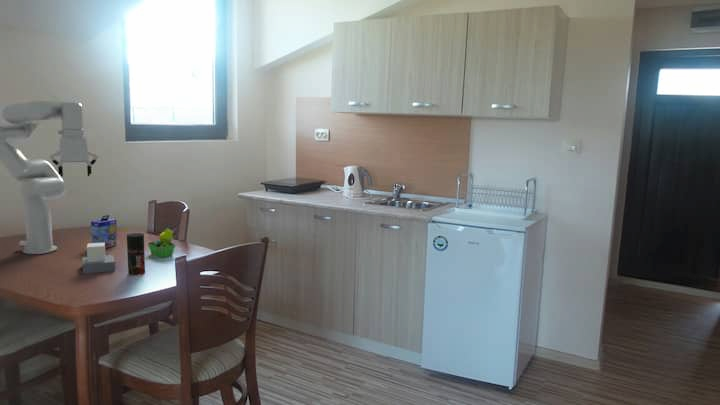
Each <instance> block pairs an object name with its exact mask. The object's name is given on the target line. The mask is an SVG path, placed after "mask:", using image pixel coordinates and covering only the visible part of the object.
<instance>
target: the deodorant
mask: <svg viewBox="0 0 720 405" xmlns="http://www.w3.org/2000/svg"><path fill="white" fill-rule="evenodd" d="M126 247H127V248H126V249H127V250H126V251H127V272H128V273H127V274H128V275H129V276H141V275H144V274H145V273H146V261H145V260H146V258H145V234H144V233H140V232H134V233H128V234H126Z"/></svg>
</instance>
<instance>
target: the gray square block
mask: <svg viewBox="0 0 720 405" xmlns="http://www.w3.org/2000/svg"><path fill="white" fill-rule="evenodd" d="M81 258H82V273H83V274H84V275H85V274H95V273H104V272H115V271H116V261H115V258H114V255H113V254H108V255H106V254H105V261H100V262H88V261H87V256H85V257H81Z"/></svg>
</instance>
